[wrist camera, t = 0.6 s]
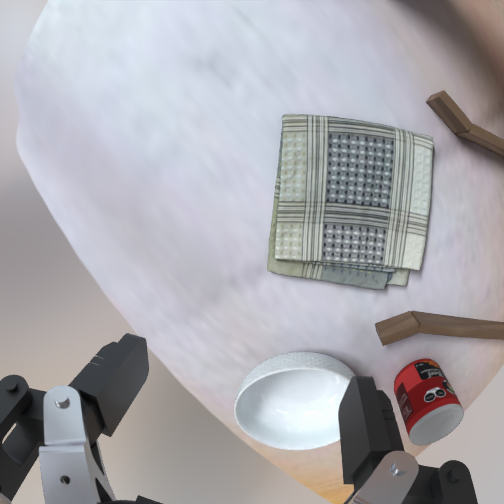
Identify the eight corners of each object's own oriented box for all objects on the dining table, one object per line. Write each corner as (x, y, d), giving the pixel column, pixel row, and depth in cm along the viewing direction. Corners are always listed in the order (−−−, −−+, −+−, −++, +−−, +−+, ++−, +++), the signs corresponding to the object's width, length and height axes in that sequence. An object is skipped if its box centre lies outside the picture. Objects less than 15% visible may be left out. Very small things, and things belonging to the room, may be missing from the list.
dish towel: (279, 112, 29) (278, 107, 26) (429, 137, 28) (441, 135, 24) (266, 272, 35) (264, 283, 32) (406, 286, 33) (415, 296, 30)
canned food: (446, 367, 35) (472, 414, 25) (410, 400, 38) (428, 450, 28) (420, 348, 35) (448, 399, 25) (382, 385, 37) (398, 439, 27)
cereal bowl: (302, 310, 35) (304, 343, 29) (379, 376, 37) (390, 410, 30) (218, 379, 41) (207, 413, 34) (296, 430, 42) (295, 462, 36)
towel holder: (426, 94, 25) (439, 88, 22) (557, 167, 23) (570, 169, 20) (372, 330, 35) (378, 345, 32) (506, 342, 33) (516, 353, 29)
